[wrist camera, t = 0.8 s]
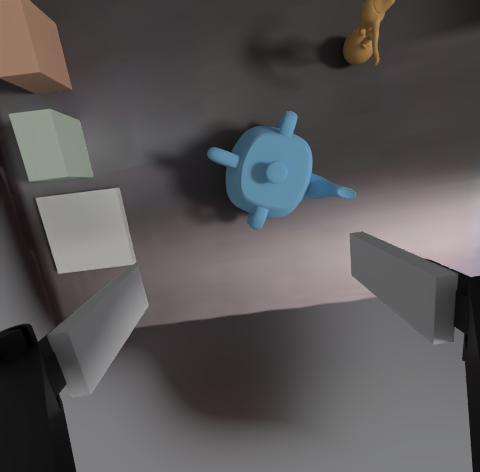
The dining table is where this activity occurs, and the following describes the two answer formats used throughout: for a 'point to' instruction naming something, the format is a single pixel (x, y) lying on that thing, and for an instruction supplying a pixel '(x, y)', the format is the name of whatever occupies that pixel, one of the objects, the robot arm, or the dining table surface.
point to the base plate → (87, 230)
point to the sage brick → (51, 146)
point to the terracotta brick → (31, 49)
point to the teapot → (272, 172)
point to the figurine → (366, 33)
